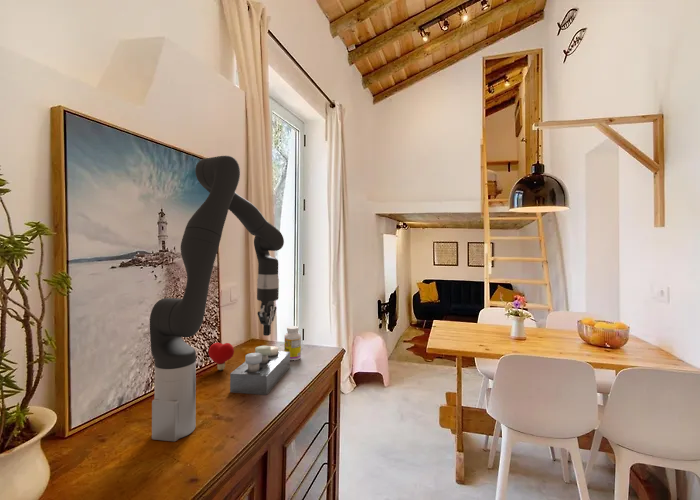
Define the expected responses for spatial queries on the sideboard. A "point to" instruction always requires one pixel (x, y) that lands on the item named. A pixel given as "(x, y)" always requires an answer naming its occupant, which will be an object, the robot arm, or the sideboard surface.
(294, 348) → the supplement bottle
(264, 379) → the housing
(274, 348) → the cap far
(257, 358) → the cap near
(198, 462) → the sideboard surface
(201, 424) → the sideboard surface
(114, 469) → the sideboard surface
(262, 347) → the cap mid
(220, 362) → the red heart
